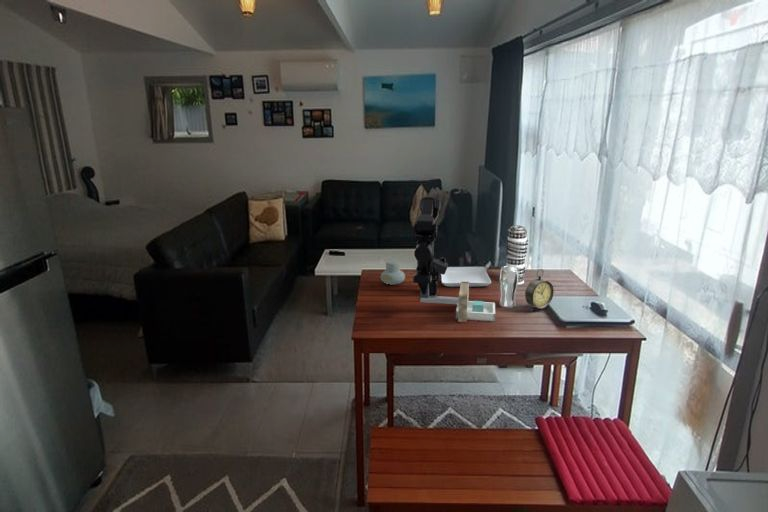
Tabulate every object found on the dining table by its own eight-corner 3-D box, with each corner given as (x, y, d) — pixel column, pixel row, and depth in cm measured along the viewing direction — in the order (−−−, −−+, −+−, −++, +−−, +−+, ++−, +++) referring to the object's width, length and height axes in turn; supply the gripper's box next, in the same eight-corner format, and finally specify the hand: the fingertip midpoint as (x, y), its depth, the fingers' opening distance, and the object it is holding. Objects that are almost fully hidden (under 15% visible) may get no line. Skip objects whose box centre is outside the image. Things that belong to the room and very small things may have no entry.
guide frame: (458, 321, 168) (458, 296, 165) (460, 305, 182) (461, 281, 179) (466, 322, 168) (467, 296, 165) (468, 305, 182) (469, 281, 179)
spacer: (472, 304, 171) (483, 305, 170) (472, 300, 175) (483, 301, 174) (472, 314, 172) (483, 315, 172) (472, 310, 176) (483, 311, 175)
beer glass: (517, 308, 178) (519, 272, 174) (498, 307, 179) (500, 271, 175) (516, 301, 184) (518, 266, 180) (498, 300, 186) (500, 265, 181)
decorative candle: (527, 285, 202) (532, 229, 194) (506, 285, 202) (509, 229, 195) (522, 277, 211) (525, 224, 203) (501, 278, 211) (504, 224, 203)
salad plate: (441, 289, 200) (441, 282, 199) (439, 273, 220) (439, 266, 219) (491, 289, 198) (492, 282, 197) (484, 273, 218) (484, 266, 217)
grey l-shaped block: (420, 302, 176) (420, 283, 174) (421, 299, 179) (421, 281, 176) (467, 305, 172) (467, 286, 170) (467, 302, 175) (468, 283, 173)
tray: (455, 318, 171) (455, 311, 170) (457, 307, 181) (457, 300, 180) (494, 321, 168) (495, 314, 167) (494, 309, 178) (494, 302, 177)
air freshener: (408, 283, 207) (408, 261, 204) (396, 288, 201) (396, 266, 198) (389, 277, 214) (389, 257, 211) (377, 282, 208) (377, 261, 205)
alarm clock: (531, 314, 173) (535, 273, 168) (521, 309, 178) (524, 269, 173) (553, 308, 178) (556, 268, 173) (542, 303, 182) (545, 264, 178)
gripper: (444, 262, 161) (444, 303, 166) (448, 247, 178) (447, 285, 183) (412, 260, 163) (413, 301, 168) (419, 246, 181) (419, 283, 185)
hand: (424, 292), depth 176 cm, fingers closed on grey l-shaped block, 3 cm apart
